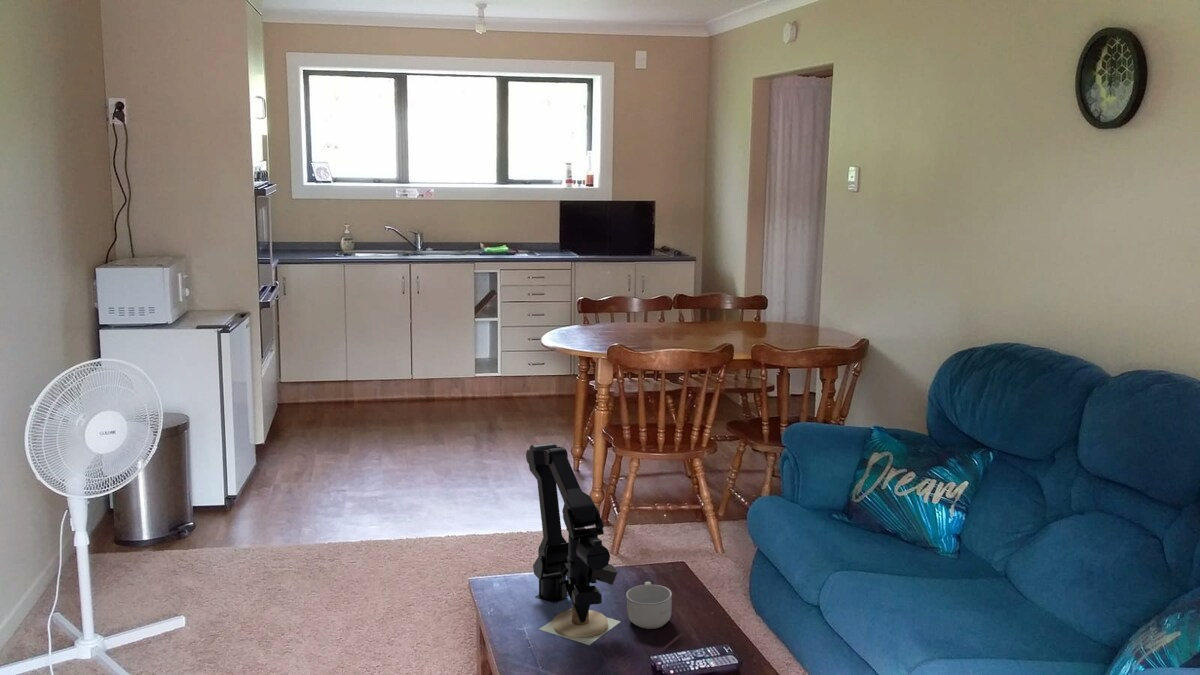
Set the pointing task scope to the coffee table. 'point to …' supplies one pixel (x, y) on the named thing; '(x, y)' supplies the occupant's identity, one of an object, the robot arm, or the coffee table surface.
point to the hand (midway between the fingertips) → (580, 617)
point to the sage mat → (587, 641)
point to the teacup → (649, 605)
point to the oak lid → (580, 624)
